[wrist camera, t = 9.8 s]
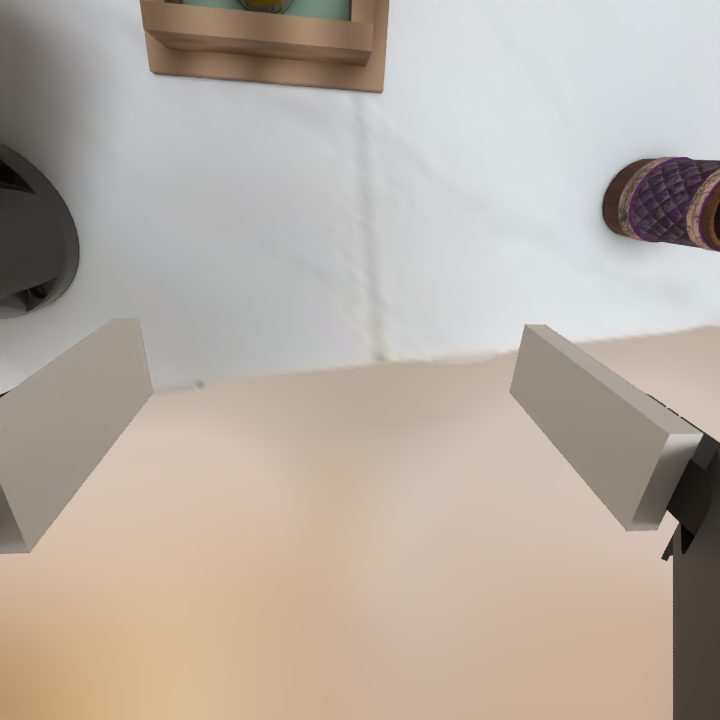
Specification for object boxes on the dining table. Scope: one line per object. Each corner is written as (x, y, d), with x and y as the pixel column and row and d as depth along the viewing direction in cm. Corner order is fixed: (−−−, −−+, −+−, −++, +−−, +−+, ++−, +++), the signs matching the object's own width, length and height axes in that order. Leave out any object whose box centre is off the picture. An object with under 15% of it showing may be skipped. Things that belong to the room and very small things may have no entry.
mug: (597, 242, 40) (697, 268, 30) (604, 164, 37) (719, 162, 27) (696, 224, 41) (833, 243, 30) (712, 145, 37) (870, 135, 27)
